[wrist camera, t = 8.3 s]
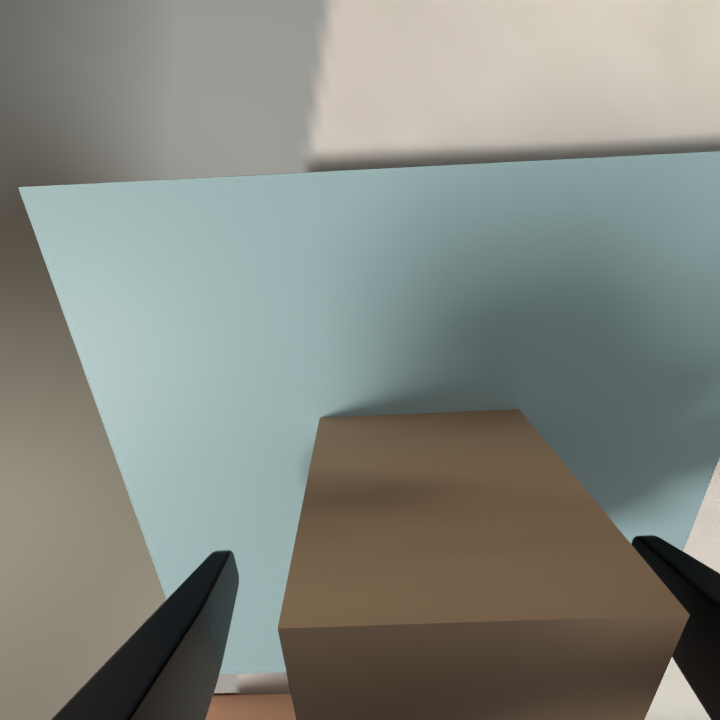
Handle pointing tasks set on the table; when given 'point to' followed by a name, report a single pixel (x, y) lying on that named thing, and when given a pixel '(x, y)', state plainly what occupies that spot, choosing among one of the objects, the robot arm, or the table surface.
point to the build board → (388, 336)
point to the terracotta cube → (251, 707)
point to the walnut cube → (464, 580)
